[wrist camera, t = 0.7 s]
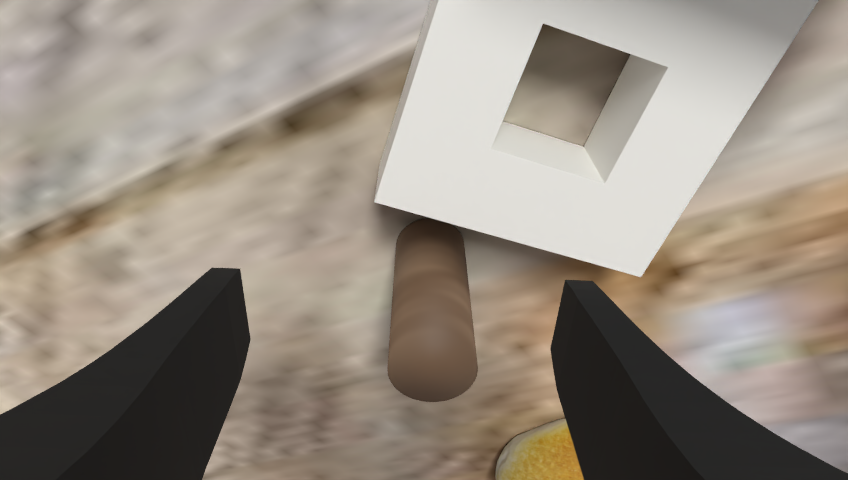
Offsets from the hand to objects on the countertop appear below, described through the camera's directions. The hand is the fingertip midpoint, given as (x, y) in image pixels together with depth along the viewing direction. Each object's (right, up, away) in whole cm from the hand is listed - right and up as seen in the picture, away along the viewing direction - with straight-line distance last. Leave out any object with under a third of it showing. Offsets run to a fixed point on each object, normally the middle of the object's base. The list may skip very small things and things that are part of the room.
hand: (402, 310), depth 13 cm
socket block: (+5, +7, +7) cm, 11 cm away
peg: (+1, +1, +11) cm, 11 cm away
